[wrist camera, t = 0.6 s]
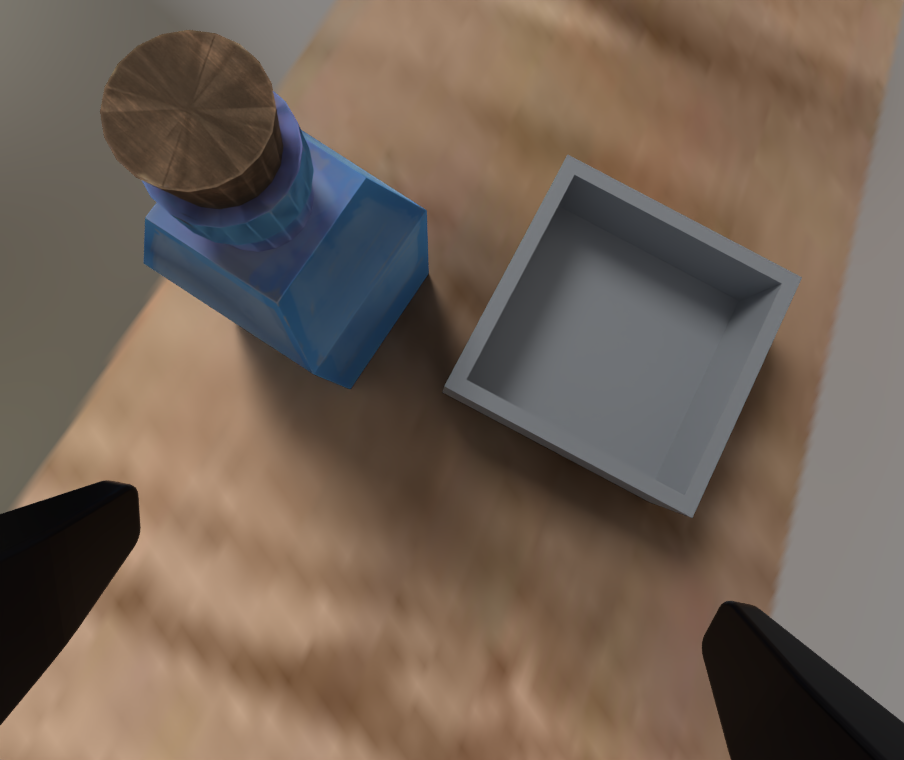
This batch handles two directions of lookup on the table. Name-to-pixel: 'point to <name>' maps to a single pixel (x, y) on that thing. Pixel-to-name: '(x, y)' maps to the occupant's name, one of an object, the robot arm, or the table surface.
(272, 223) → the perfume bottle
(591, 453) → the tray
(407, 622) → the table surface
